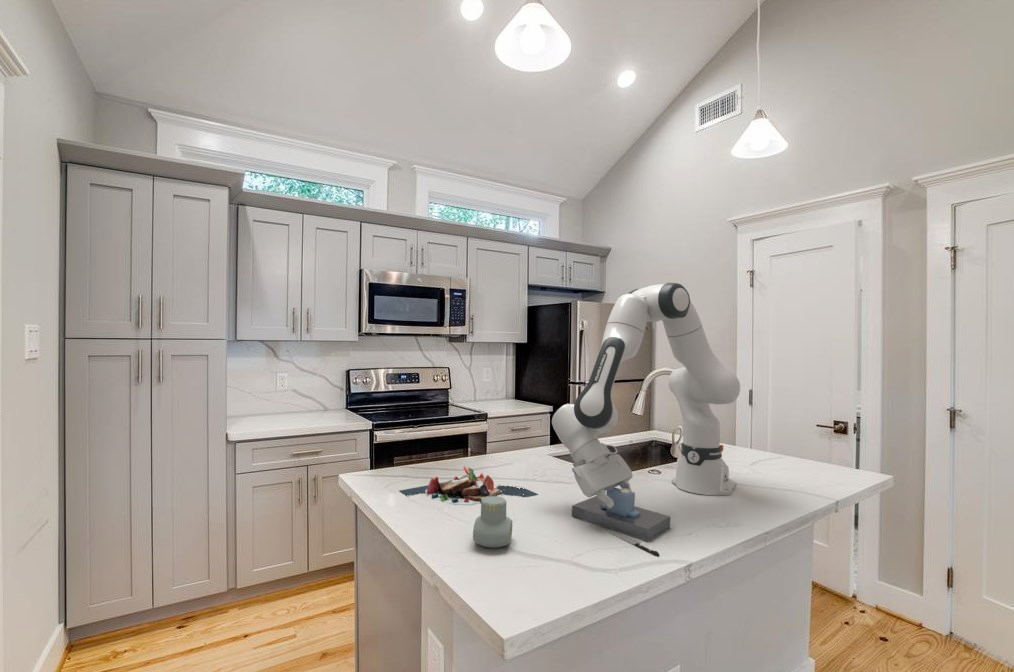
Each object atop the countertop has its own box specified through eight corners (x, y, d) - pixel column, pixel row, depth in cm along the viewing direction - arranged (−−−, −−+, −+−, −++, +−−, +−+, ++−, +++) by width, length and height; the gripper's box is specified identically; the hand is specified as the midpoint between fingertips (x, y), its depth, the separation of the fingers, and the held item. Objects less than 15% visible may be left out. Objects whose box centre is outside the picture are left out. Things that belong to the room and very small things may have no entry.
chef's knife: (606, 527, 127) (597, 529, 126) (606, 523, 127) (597, 524, 126) (666, 556, 111) (657, 558, 110) (666, 551, 111) (657, 553, 110)
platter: (437, 521, 130) (438, 486, 130) (396, 495, 152) (396, 465, 152) (540, 498, 150) (541, 468, 151) (491, 479, 172) (491, 452, 172)
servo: (607, 515, 135) (608, 482, 135) (641, 525, 128) (641, 491, 128) (599, 518, 132) (600, 485, 132) (633, 529, 125) (634, 494, 125)
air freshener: (479, 532, 121) (479, 491, 121) (512, 534, 120) (513, 493, 120) (471, 552, 110) (472, 507, 110) (508, 554, 109) (509, 509, 109)
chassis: (596, 506, 142) (596, 495, 142) (670, 528, 127) (670, 516, 127) (571, 516, 133) (572, 505, 133) (647, 541, 118) (648, 529, 118)
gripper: (576, 457, 127) (609, 505, 120) (618, 445, 142) (649, 487, 135) (562, 471, 130) (592, 518, 123) (604, 458, 145) (633, 499, 138)
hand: (622, 502), depth 129 cm, fingers open, 8 cm apart
